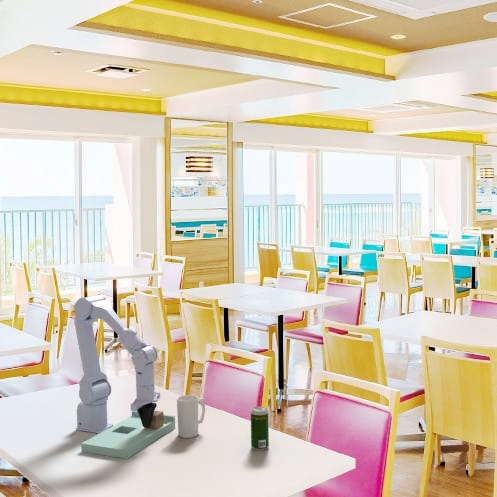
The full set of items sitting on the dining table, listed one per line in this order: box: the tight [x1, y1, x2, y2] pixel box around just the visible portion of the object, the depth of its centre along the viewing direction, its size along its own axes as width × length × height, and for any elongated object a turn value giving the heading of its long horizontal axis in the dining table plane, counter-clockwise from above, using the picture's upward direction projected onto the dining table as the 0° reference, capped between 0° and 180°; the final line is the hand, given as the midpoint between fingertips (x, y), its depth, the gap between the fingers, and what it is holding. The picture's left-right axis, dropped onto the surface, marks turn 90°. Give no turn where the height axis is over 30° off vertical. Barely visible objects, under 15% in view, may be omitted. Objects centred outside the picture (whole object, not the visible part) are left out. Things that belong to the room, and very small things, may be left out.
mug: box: [176, 394, 206, 439], centre depth 228 cm, size 10×7×12 cm, turn 128°
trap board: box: [80, 411, 176, 460], centre depth 224 cm, size 16×29×4 cm, turn 157°
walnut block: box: [144, 410, 164, 430], centre depth 228 cm, size 4×4×4 cm
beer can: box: [250, 406, 270, 452], centre depth 215 cm, size 5×5×12 cm
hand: (146, 426), depth 225 cm, fingers closed
